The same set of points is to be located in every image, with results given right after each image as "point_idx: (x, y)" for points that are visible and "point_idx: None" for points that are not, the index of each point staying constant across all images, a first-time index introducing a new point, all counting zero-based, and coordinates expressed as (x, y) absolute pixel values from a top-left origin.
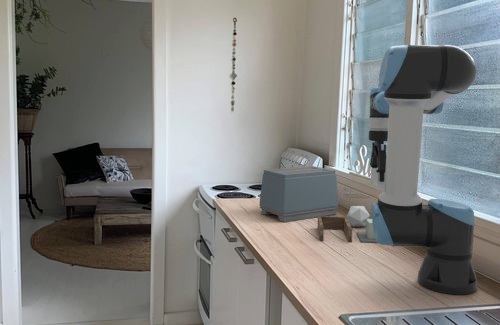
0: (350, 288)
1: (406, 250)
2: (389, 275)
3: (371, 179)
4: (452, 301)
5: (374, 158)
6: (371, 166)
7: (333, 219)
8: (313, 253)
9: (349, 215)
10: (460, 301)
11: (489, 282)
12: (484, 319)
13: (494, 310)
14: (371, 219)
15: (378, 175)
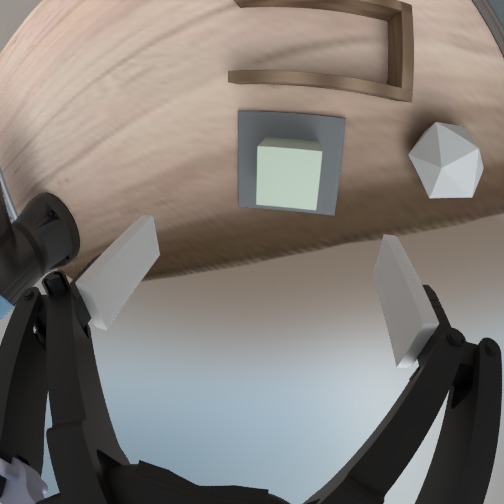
0: (16, 102)
1: (185, 216)
2: (53, 154)
3: (394, 260)
4: None
5: (374, 439)
6: (439, 338)
7: (399, 52)
8: (131, 3)
9: (435, 123)
10: None
11: None
12: None
13: None
14: (311, 168)
15: (91, 273)
